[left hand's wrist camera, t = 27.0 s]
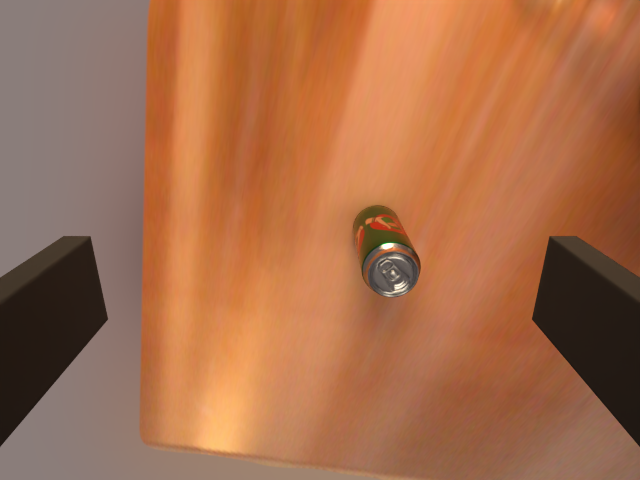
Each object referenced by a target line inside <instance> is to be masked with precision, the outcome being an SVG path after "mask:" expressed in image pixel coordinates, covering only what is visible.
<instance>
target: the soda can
mask: <svg viewBox="0 0 640 480" xmlns="http://www.w3.org/2000/svg"><path fill="white" fill-rule="evenodd" d="M353 232H354V237H355V242H356V247H357V252H358V257H359V262H360V267H361V272H362V276H363V279H364V281H365V283H366V284H367V286H368V287H369V288H370V289H372V290H373V291H375V292H376V293H378V294H380V295H382V296H385V297H398V296H402V295H404V294H406V293H407V292H409V291H410V290H411V289H412V288H413V287H414V286H415V284H416V282H417V280H418V277H419V274H420V269H421V265H420V260H419V257H418V255H417V253H416V251H415V249H414V247H413V245H412V244H411V242H410V240H409V238H408V236H407V234H406V232H405V230H404V228H403V226H402V224H401V223H400V221H399V219H398V217H397V215H396V214H395V213H394V212H393V211H392V210H391V209H389V208H387V207H384V206H371V207H368V208H366V209H364V210H363V211H362V212H360V213H359V215H358V216H357V217H356V219H355V221H354V225H353Z"/></svg>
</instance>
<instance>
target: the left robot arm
mask: <svg viewBox="0 0 640 480" xmlns="http://www.w3.org/2000/svg"><path fill="white" fill-rule="evenodd" d="M107 320H108V317H107V312H106V308H105V303H104V298H103V293H102V289H101V284H100V279H99V275H98V270H97V265H96V260H95V256H94V251H93V246H92V241H91V237H90V236H63V237H62V238H60V239H59V240H57V241H56V242H54V243H52V244H51V245H50V246H48V247H46V248H45V249H43V250H42V251H40V252H39V253H37V254H36V255H34V256H33V257H31V258H30V259H28V260H27V261H25V262H23V263H22V264H20V265H19V266H17V267H16V268H14V269H13V270H11V271H10V272H8V273H7V274H5V275H4V276H2V277H1V278H0V446H1V445H2V444H3V443H4V442H5V440H6V439H7V438H8V437H9V436H10V435H11V433H12V432H13V431H14V430H15V429H16V427H17V426H18V425H19V424H20V423H21V422H22V420H23V419H24V418H25V417H26V416H27V414H28V413H29V412H30V411H31V410H32V409H33V407H34V406H35V405H36V404H37V403H38V401H39V400H40V399H41V398H42V397H43V396H44V394H45V393H46V392H47V391H48V390H49V388H50V387H51V386H52V385H53V384H54V382H55V381H56V380H57V379H58V378H59V377H60V375H61V374H62V373H63V372H64V371H65V369H66V368H67V367H68V366H69V365H70V364H71V362H72V361H73V360H74V359H75V358H76V356H77V355H78V354H79V353H80V352H81V351H82V349H83V348H84V347H85V346H86V345H87V343H88V342H89V341H90V340H91V339H92V338H93V336H94V335H95V334H96V333H97V332H98V330H99V329H100V328H101V327H102V326H103V324H104V323H105V322H106V321H107ZM532 320H533V321H534V322H535V323H536V325H537V326H538V327H539V328H540V329H541V330H542V332H543V333H544V334H545V335H546V336H547V338H548V339H549V340H550V341H551V342H552V344H553V345H554V346H555V347H556V348H557V349H558V351H559V352H560V353H561V354H562V355H563V357H564V358H565V359H566V360H567V361H568V362H569V364H570V365H571V366H572V367H573V368H574V370H575V371H576V372H577V373H578V374H579V375H580V377H581V378H582V379H583V380H584V381H585V383H586V384H587V385H588V386H589V387H590V388H591V390H592V391H593V392H594V393H595V394H596V396H597V397H598V398H599V399H600V400H601V401H602V403H603V404H604V405H605V406H606V407H607V409H608V410H609V411H610V412H611V413H612V414H613V416H614V417H615V418H616V419H617V420H618V422H619V423H620V424H621V425H622V426H623V427H624V429H625V430H626V431H627V432H628V433H629V435H630V436H631V437H632V438H633V439H634V440H635V442H636V443H637V444H638V445H639V446H640V278H639V277H638V276H636V275H635V274H633V273H632V272H630V271H629V270H627V269H626V268H624V267H623V266H621V265H620V264H618V263H617V262H615V261H613V260H612V259H610V258H609V257H607V256H606V255H604V254H603V253H601V252H600V251H598V250H597V249H595V248H594V247H592V246H591V245H589V244H588V243H586V242H584V241H583V240H581V239H580V238H578V237H577V236H550V237H549V241H548V246H547V251H546V256H545V260H544V265H543V270H542V274H541V279H540V284H539V289H538V293H537V298H536V303H535V308H534V312H533V317H532Z"/></svg>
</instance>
